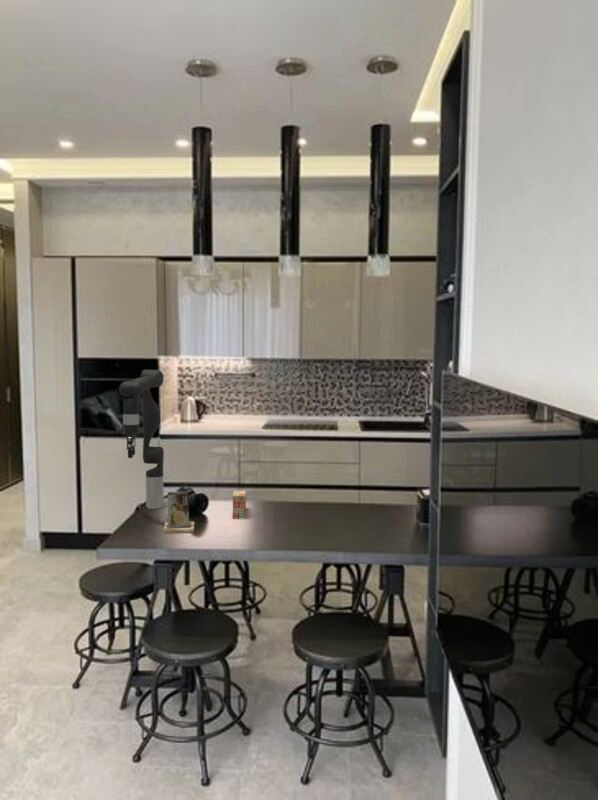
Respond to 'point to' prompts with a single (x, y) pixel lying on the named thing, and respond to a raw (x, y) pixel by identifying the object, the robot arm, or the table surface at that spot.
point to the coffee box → (178, 509)
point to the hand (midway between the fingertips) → (131, 456)
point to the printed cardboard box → (239, 504)
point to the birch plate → (179, 528)
